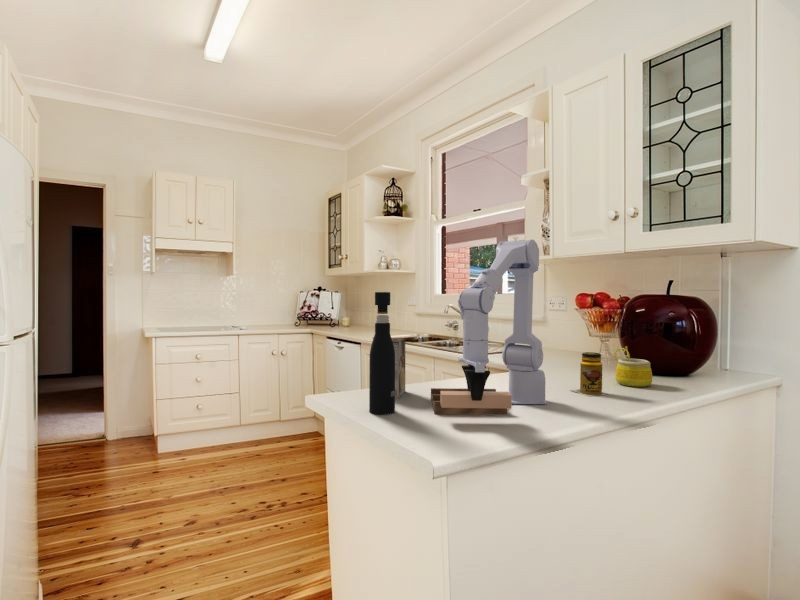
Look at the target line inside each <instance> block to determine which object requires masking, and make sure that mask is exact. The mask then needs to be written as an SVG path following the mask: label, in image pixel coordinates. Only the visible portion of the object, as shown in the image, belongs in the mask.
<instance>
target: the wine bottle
mask: <svg viewBox="0 0 800 600" xmlns="http://www.w3.org/2000/svg"><path fill="white" fill-rule="evenodd" d="M374 306H377V312H376V314H377V315H376V317H375V319H376V320H375V323H374V336H373V339H372V342H371V346H370V350H369V376H368V377H369V382H368V383H369V386H368V387H369V392H368V393H369V396H368V397H369V398H368V399H369V400H368V401H369V404H368V405H369V411H368V412H369V413H370V414H372V415H379V416H385V415H391V414H394V413H395V412H396V398H395V350H394V345H393V342H392V338H393V337H392V336H391V323H390V322H389V321H390V317H389V315H387V314H388V311H389V310H388V309H389V308H388V306H391V292H390V291H375V292H374Z"/></svg>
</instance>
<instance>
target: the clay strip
mask: <svg viewBox="0 0 800 600" xmlns="http://www.w3.org/2000/svg"><path fill="white" fill-rule="evenodd" d="M440 404H441V407H442V408H508V409H512V406H513V404H512V395H511V394H510V393H509V391H496V392H493V391H484V392H483V396H482V400H481V401H472V398H471V393H470V391H440Z"/></svg>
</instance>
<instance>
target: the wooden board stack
mask: <svg viewBox="0 0 800 600" xmlns="http://www.w3.org/2000/svg"><path fill="white" fill-rule="evenodd" d="M440 391H468V388H452V387H451V388H450V387H449V388H442V387H441V388H438V387H437V388H435V387H433V388H430V401H431V405H432V408H433V409H432V410H433V413H434V415H501V416H502V415H508V408H442V407H441V404H440ZM484 391H493V392H497V389H496V388H484Z"/></svg>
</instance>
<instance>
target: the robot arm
mask: <svg viewBox="0 0 800 600" xmlns="http://www.w3.org/2000/svg"><path fill="white" fill-rule="evenodd" d="M495 248H496V249H495V258H494V260H493V262H492V264H491V265H490V267H489V268H485V269H483V270H481V273H480V274H479V275H478V277H476V279H475V281H473V283H472V284H471V286H470V287H469V288H468V287H467V288H464V289H463V290H462V291H461V292H460V294H459V297H458V302H457V303H458V308H459V311H460V318H461V320H462V323H463V324H462V325H463V328H462V334H463V335H462V341H463V342H462V343H463V344H462V357H459V358H457V362H459V363H464V364H462V365H461V368H462V371H463V373H464V376H465V377H464V378H465V379H466V380H465V381H466V385H467V389H468V391H470V393H471V398H472V401H481V400H482V396H483V392H484V389H485V387H486V384H487V380H488V378H489V376H490V375H491V371H490V370H486V368H487V366H486V365H487V364H488V363H489V362H490V360H489V313H490V312H492V310H493V306H494V302H495V299H496V298H495V297H496V294H497V292H498V290H499V289H500V288H501V287H502V285H503V281H504V280H503V276H504V275H505V274H506V273H507V272H509V273H511V274H512V276H514V287H513V288H514V290H513V291H514V294H513V295H514V296H513V323H512V326H513V327H512V334H510V335H509V336H508V337H507V338H505V339H504V344H503V345H504V346H503V349H502V353H501V355H502V356H501V359H502V361H503V363H504V365H505V366H506V369H508V392H509V393H510V394H511V395H512V405H546V404H547V402H546V375H545V371H544V370H543V369H540V368H541V367H542V365H543V362H544V351H543V343H542V341H541V339H539V338H538V337H537V336H536V335H534V334H533V332H532V331H533V329H532V328H533V300H534V299H533V298H534V297H533V296H534V274H535V273H536V272H538V271H539V265H540V248H539V246H538V244H537V242H536V241H535V240H534V239H528V240H512V241H510V240H509V241H508V240H507V241H502V240H501V241H500V242H499V243H498V244H497V246H496V247H495ZM465 364H466V365H465Z"/></svg>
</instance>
